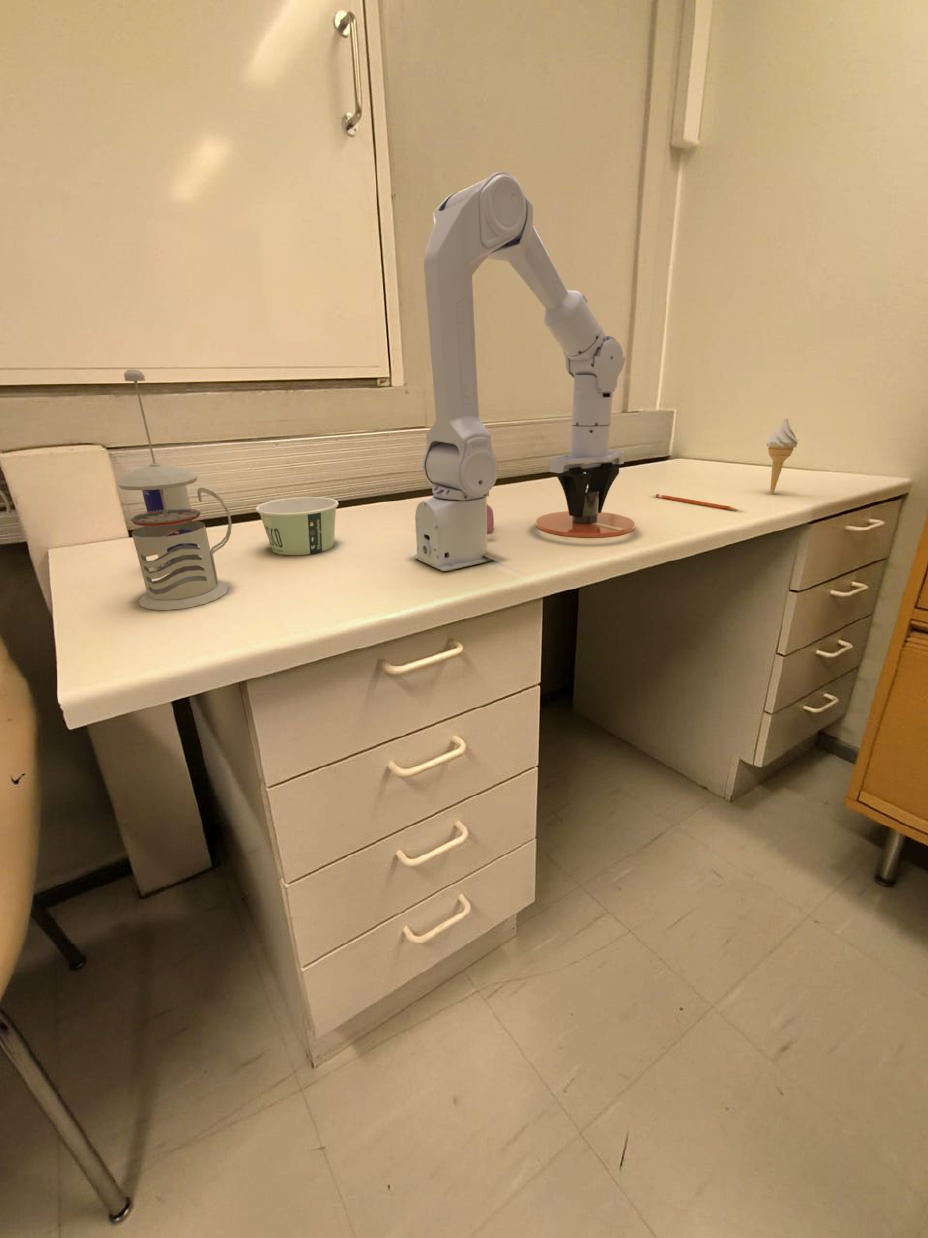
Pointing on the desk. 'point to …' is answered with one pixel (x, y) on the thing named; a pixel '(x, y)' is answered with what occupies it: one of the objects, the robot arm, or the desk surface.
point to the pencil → (695, 502)
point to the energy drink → (172, 500)
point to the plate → (584, 530)
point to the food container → (299, 524)
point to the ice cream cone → (780, 450)
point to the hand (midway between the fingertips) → (585, 514)
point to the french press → (172, 538)
